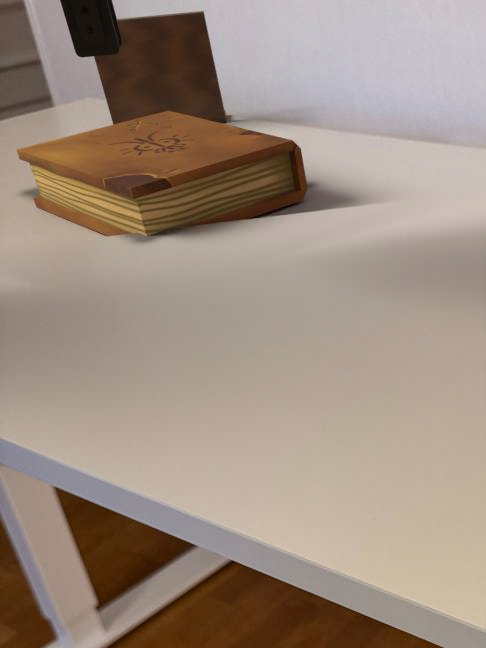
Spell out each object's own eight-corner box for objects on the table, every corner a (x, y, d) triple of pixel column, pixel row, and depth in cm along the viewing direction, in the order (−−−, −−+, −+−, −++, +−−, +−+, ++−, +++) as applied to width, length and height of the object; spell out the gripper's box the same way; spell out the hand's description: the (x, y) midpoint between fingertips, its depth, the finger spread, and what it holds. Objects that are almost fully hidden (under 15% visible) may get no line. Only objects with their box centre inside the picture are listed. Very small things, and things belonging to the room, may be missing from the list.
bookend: (115, 134, 120) (84, 23, 112) (118, 126, 123) (87, 18, 115) (226, 122, 121) (203, 12, 113) (226, 115, 124) (203, 7, 116)
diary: (309, 200, 96) (299, 138, 92) (149, 254, 87) (131, 188, 83) (187, 162, 109) (174, 106, 105) (36, 206, 99) (15, 147, 95)
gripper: (-31, -276, 65) (62, 37, 77) (-86, -293, 53) (35, 79, 65) (81, -282, 65) (155, 28, 78) (51, -301, 54) (145, 68, 66)
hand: (100, 49), depth 71 cm, fingers closed
